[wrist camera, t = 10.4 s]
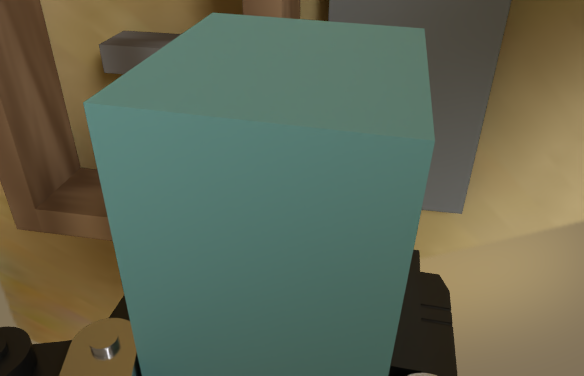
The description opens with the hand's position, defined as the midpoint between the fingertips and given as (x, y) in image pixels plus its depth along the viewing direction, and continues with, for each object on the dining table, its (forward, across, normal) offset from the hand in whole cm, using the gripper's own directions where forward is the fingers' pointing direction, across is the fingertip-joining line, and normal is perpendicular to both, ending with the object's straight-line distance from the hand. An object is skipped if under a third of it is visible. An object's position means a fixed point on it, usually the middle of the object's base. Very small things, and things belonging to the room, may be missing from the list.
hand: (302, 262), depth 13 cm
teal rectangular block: (0, 0, +1) cm, 1 cm away
